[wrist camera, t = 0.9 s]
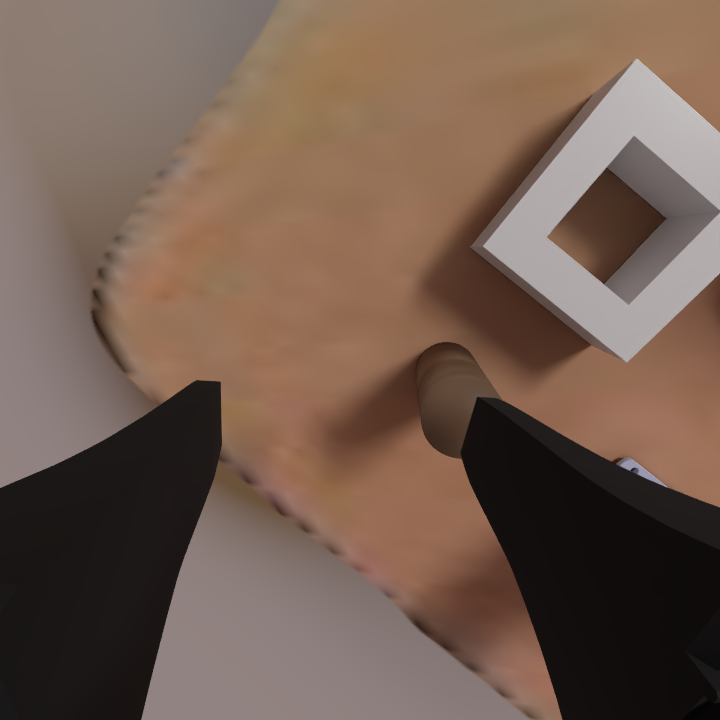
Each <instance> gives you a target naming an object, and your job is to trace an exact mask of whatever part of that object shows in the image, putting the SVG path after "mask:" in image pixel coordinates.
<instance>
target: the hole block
mask: <svg viewBox="0 0 720 720" xmlns="http://www.w3.org/2000/svg"><path fill="white" fill-rule="evenodd" d="M606 167H607V168H608V169H609V170H610V171H612V172H613V173H614V174H615V175H616V176H617V177H619V178H620V179H621V180H622V181H623V182H624V183H626V184H627V185H628V186H629V187H630V188H631V189H633V190H634V191H635V192H636V193H637V194H638V195H640V196H641V197H642V198H643V199H644V200H645V201H647V202H648V203H649V204H650V205H651V206H652V207H654V208H655V209H656V210H657V211H658V212H659V213H661V214H662V215H663V216H664V217H665V218H666V219H665V220H664V221H663V222H662V224H661V225H660V226H659V227H658V228H657V229H656V230H655V231H654V232H653V233H652V234H651V235H650V236H649V237H648V238H647V239H646V240H645V241H644V242H643V244H642V245H641V246H640V247H639V248H638V249H637V250H636V251H635V252H634V253H633V254H632V255H631V256H630V257H629V258H628V259H627V260H626V261H625V262H624V264H623V265H622V266H621V267H620V268H619V269H618V270H617V271H616V272H615V273H614V274H613V275H612V276H611V277H610V278H609V279H608V280H607V281H606V282H605V284H603V283H602V282H600V281H599V280H598V279H597V278H595V277H594V276H593V275H592V274H591V273H589V272H588V271H587V270H586V269H585V268H583V267H582V266H581V265H580V264H578V263H577V262H576V261H575V260H574V259H572V258H571V257H570V256H569V255H568V254H566V253H565V252H564V251H563V250H561V249H560V248H559V247H558V246H557V245H555V244H554V243H553V242H552V241H551V240H549V239H548V238H547V236H548V235H549V233H550V232H551V231H552V230H553V229H554V228H555V226H556V225H557V224H558V223H559V222H560V221H561V220H562V218H563V217H564V216H565V215H566V214H567V213H568V211H569V210H570V209H571V208H572V207H573V206H574V204H575V203H576V202H577V201H578V200H579V199H580V198H581V196H582V195H583V194H584V193H585V192H586V191H587V189H588V188H589V187H590V186H591V185H592V184H593V182H594V181H595V180H596V179H597V178H598V177H599V176H600V174H601V173H602V172H603V171H604V170H605V169H606ZM470 248H471V249H473V250H474V251H475V252H476V253H478V254H479V255H480V256H481V257H483V258H484V259H485V260H486V261H488V262H489V263H490V264H491V265H493V266H494V267H495V268H496V269H498V270H499V271H500V272H501V273H503V274H504V275H505V276H506V277H508V278H509V279H510V280H511V281H512V282H514V283H515V284H516V285H517V286H519V287H520V288H521V289H522V290H524V291H525V292H526V293H527V294H529V295H530V296H531V297H532V298H534V299H535V300H536V301H537V302H539V303H540V304H541V305H542V306H544V307H545V308H546V309H547V310H549V311H550V312H551V313H552V314H554V315H555V316H556V317H557V318H558V319H560V320H561V321H562V322H563V323H565V324H566V325H567V326H568V327H570V328H571V329H572V330H573V331H575V332H576V333H577V334H578V335H580V336H581V337H582V338H583V339H585V340H586V341H587V342H588V343H590V344H591V345H592V346H594V347H596V348H598V349H600V350H602V351H604V352H606V353H608V354H610V355H612V356H614V357H617V358H619V359H621V360H623V361H625V362H628V361H629V360H630V359H631V358H632V357H633V356H634V355H635V354H636V353H637V352H638V351H639V350H640V349H642V348H643V347H644V346H645V345H646V344H647V343H648V342H649V341H650V340H651V339H652V338H653V337H654V336H655V335H656V334H657V333H658V332H659V331H660V330H661V329H662V328H663V327H664V326H665V325H667V324H668V323H669V322H670V321H671V320H672V319H673V318H674V317H675V316H676V315H677V314H678V313H679V312H680V311H681V310H682V309H683V308H684V307H685V306H686V305H687V304H688V303H689V302H690V301H692V300H693V299H694V298H695V297H696V296H697V295H698V294H699V293H700V292H701V291H702V290H703V289H704V288H705V287H706V286H707V285H708V284H709V283H710V282H711V281H712V280H713V279H714V278H716V277H717V276H718V275H719V274H720V132H718V131H717V130H716V129H715V128H714V127H713V126H712V125H711V124H710V123H708V122H707V121H706V120H705V119H704V118H703V117H702V116H701V115H699V114H698V113H697V112H696V111H695V110H694V109H693V108H692V107H691V106H689V105H688V104H687V103H686V102H685V101H684V100H683V99H682V98H680V97H679V96H678V95H677V94H676V93H675V92H674V91H673V90H672V89H670V88H669V87H668V86H667V85H666V84H665V83H664V82H663V81H661V80H660V79H659V78H658V77H657V76H656V75H655V74H654V73H653V72H651V71H650V70H649V69H648V68H647V67H646V66H645V65H644V64H643V63H641V62H640V61H639V60H638V59H637V58H636V59H635V60H634V61H633V62H631V63H630V64H629V65H628V66H627V67H625V68H624V69H623V70H622V71H620V72H619V73H618V74H617V75H616V76H614V77H613V78H612V79H611V80H610V81H608V82H607V83H606V84H605V85H604V86H602V87H601V88H600V89H599V90H597V91H596V92H595V93H594V94H593V95H592V96H591V98H590V99H589V100H588V101H587V103H586V104H585V105H584V106H583V108H582V109H581V110H580V111H579V113H578V114H577V115H576V116H575V118H574V119H573V120H572V121H571V122H570V124H569V125H568V126H567V127H566V129H565V130H564V131H563V132H562V134H561V135H560V136H559V137H558V139H557V140H556V141H555V142H554V144H553V145H552V146H551V147H550V149H549V150H548V151H547V152H546V153H545V155H544V156H543V157H542V158H541V160H540V161H539V162H538V163H537V165H536V166H535V167H534V168H533V170H532V171H531V172H530V173H529V175H528V176H527V177H526V178H525V180H524V181H523V182H522V183H521V184H520V186H519V187H518V188H517V189H516V191H515V192H514V193H513V194H512V196H511V197H510V198H509V199H508V201H507V202H506V203H505V204H504V206H503V207H502V208H501V209H500V211H499V212H498V213H497V214H496V215H495V217H494V218H493V219H492V220H491V222H490V223H489V224H488V225H487V227H486V228H485V229H484V230H483V232H482V233H481V234H480V235H479V237H478V238H477V239H476V240H475V241H474V243H473V244H472V245H471V246H470Z"/></svg>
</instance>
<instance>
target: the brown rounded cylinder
mask: <svg viewBox="0 0 720 720" xmlns="http://www.w3.org/2000/svg"><path fill="white" fill-rule="evenodd" d="M416 380H417V389H418V398H419V406H420V415H421V424H422V430H423V432H424V435H425V437H426V439H427V440H428V442H429V443H430V444H431V445H432V446H433V447H434V448H435V449H436V450H437V451H439V452H440V453H442V454H444V455H447V456H450V457H453V458H460V459H462V457H461V454H460V452H461V449H462V445H463V442H464V439H465V435H466V432H467V429H468V425H469V422H470V419H471V415H472V412H473V409H474V405H475V402H476V399H477V397H489V398H498V399H500V400H502V399H501V397H500V396H499V395H498V393H497V392H496V390H495V389H494V387H493V386H492V384H491V383H490V381H489V380H488V378H487V377H486V375H485V374H484V372H483V371H482V369H481V368H480V366H479V365H478V364H477V362H476V361H475V359H474V358H473V356H472V355H471V353H470V352H469V351H468V350H467V349H466V348H464V347H463V346H461V345H459V344H456V343H451V342H442V343H438V344H435V345H433V346H431V347H429V348H428V349H426V350H425V351H424V352H423V353H422V355H421V356H420V358H419V359H418V362H417V365H416Z"/></svg>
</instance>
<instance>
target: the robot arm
mask: <svg viewBox="0 0 720 720" xmlns="http://www.w3.org/2000/svg"><path fill="white" fill-rule="evenodd" d="M221 446H222V430H221V382H217V381H200V380H196V381H194V382H193V383H191V384H190V385H188V386H187V387H185V388H184V389H182V390H181V391H180V392H178V393H177V394H175V395H174V396H173V397H171V398H170V399H168V400H167V401H165V402H164V403H162V404H161V405H159V406H158V407H157V408H155V409H154V410H152V411H151V412H149V413H148V414H146V415H145V416H143V417H142V418H140V419H138V420H137V421H135V422H133V423H132V424H130V425H128V426H127V427H125V428H123V429H122V430H120V431H119V432H117V433H115V434H114V435H112V436H110V437H109V438H107V439H105V440H103V441H102V442H100V443H98V444H96V445H94V446H92V447H90V448H88V449H87V450H84V451H82V452H80V453H78V454H76V455H75V456H72V457H70V458H68V459H66V460H64V461H62V462H60V463H58V464H56V465H54V466H51V467H49V468H47V469H44V470H42V471H40V472H37V473H35V474H32V475H30V476H28V477H25V478H23V479H21V480H18V481H16V482H14V483H11V484H9V485H6V486H4V487H2V488H0V720H141V718H142V713H143V709H144V705H145V701H146V697H147V693H148V689H149V685H150V680H151V677H152V672H153V668H154V665H155V660H156V657H157V653H158V649H159V645H160V641H161V637H162V633H163V629H164V626H165V622H166V618H167V614H168V610H169V606H170V603H171V600H172V596H173V592H174V588H175V585H176V581H177V577H178V574H179V571H180V568H181V565H182V562H183V559H184V556H185V554H186V551H187V548H188V545H189V543H190V540H191V538H192V535H193V532H194V530H195V527H196V525H197V522H198V519H199V517H200V514H201V512H202V509H203V506H204V504H205V501H206V498H207V495H208V493H209V490H210V488H211V485H212V482H213V479H214V476H215V472H216V468H217V464H218V460H219V455H220V451H221ZM460 454H461V457H462V461H463V464H464V467H465V470H466V473H467V476H468V479H469V482H470V484H471V486H472V489H473V491H474V493H475V495H476V497H477V499H478V501H479V503H480V505H481V507H482V509H483V511H484V513H485V515H486V517H487V519H488V521H489V523H490V525H491V527H492V529H493V531H494V533H495V535H496V537H497V539H498V541H499V543H500V545H501V547H502V549H503V551H504V553H505V555H506V557H507V559H508V562H509V564H510V566H511V568H512V570H513V573H514V576H515V578H516V581H517V584H518V586H519V589H520V591H521V594H522V597H523V599H524V602H525V604H526V607H527V610H528V613H529V616H530V619H531V621H532V624H533V627H534V630H535V633H536V636H537V639H538V642H539V644H540V647H541V650H542V654H543V657H544V660H545V663H546V666H547V669H548V673H549V676H550V679H551V682H552V685H553V689H554V692H555V695H556V698H557V701H558V705H559V709H560V712H561V716H562V719H563V720H720V508H719V507H717V506H714V505H711V504H708V503H706V502H703V501H700V500H698V499H695V498H693V497H690V496H688V495H685V494H683V493H680V492H678V491H675V490H673V489H670V488H668V487H667V486H666V485H665V484H663V483H662V482H661V481H659V480H658V479H657V478H656V477H654V476H653V475H652V474H651V473H649V472H648V471H647V470H645V469H644V468H643V467H642V466H640V465H639V464H638V463H636V462H635V461H634V460H633V459H631V458H627V457H626V458H623V459H621V460H620V461H619V462H617V463H616V464H615V463H613V462H611V461H609V460H607V459H605V458H603V457H601V456H599V455H597V454H595V453H594V452H592V451H590V450H588V449H586V448H584V447H582V446H581V445H579V444H577V443H575V442H574V441H572V440H570V439H568V438H567V437H565V436H563V435H561V434H560V433H558V432H556V431H555V430H553V429H551V428H550V427H548V426H546V425H544V424H543V423H541V422H539V421H538V420H536V419H534V418H533V417H531V416H529V415H528V414H526V413H524V412H523V411H521V410H519V409H517V408H516V407H514V406H512V405H510V404H508V403H506V402H504V401H502V400H500V399H498V398H489V397H477V399H476V402H475V405H474V409H473V412H472V415H471V419H470V422H469V425H468V429H467V432H466V435H465V439H464V442H463V445H462V449H461V452H460ZM632 468H635V470H634V471H630V470H631V469H632Z"/></svg>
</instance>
